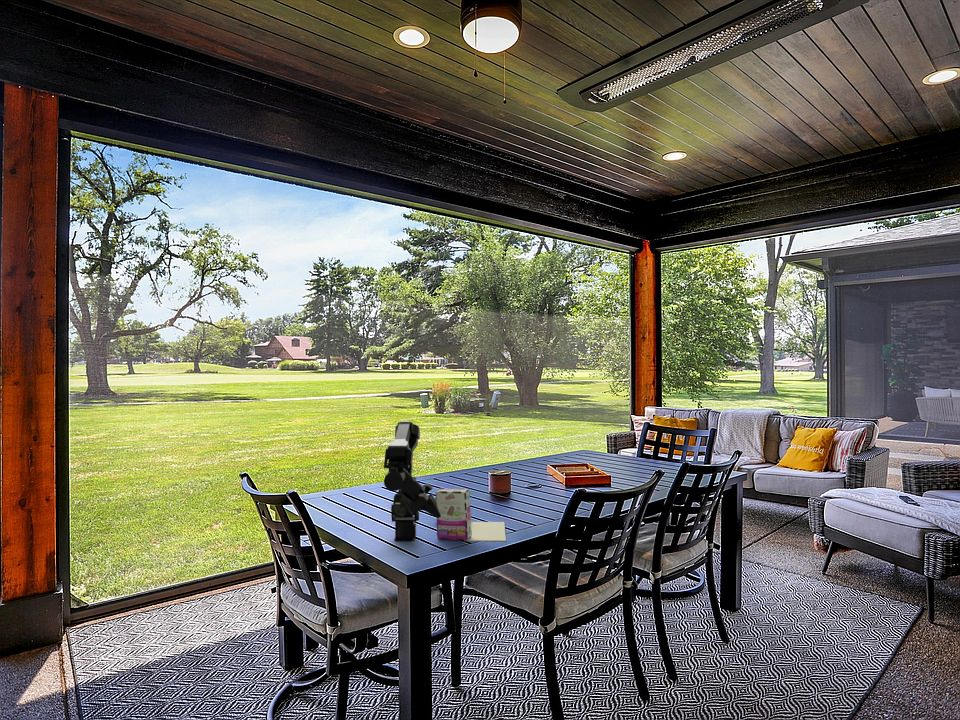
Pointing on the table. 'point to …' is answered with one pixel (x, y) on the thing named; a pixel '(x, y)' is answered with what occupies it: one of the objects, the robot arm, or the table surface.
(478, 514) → the table surface
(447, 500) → the candy bar box
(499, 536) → the placemat
